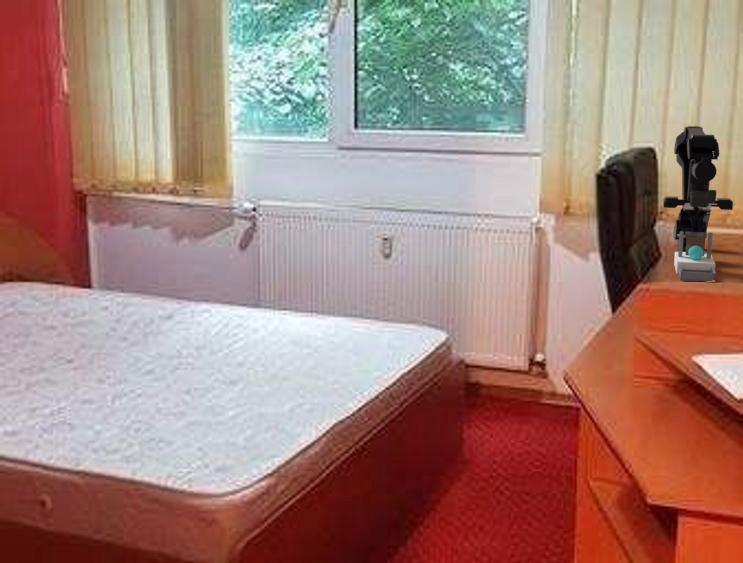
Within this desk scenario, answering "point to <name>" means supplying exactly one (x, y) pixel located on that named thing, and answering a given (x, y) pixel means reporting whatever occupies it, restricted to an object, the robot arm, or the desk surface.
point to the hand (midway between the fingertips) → (695, 232)
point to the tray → (697, 275)
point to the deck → (690, 263)
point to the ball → (695, 252)
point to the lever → (695, 240)
